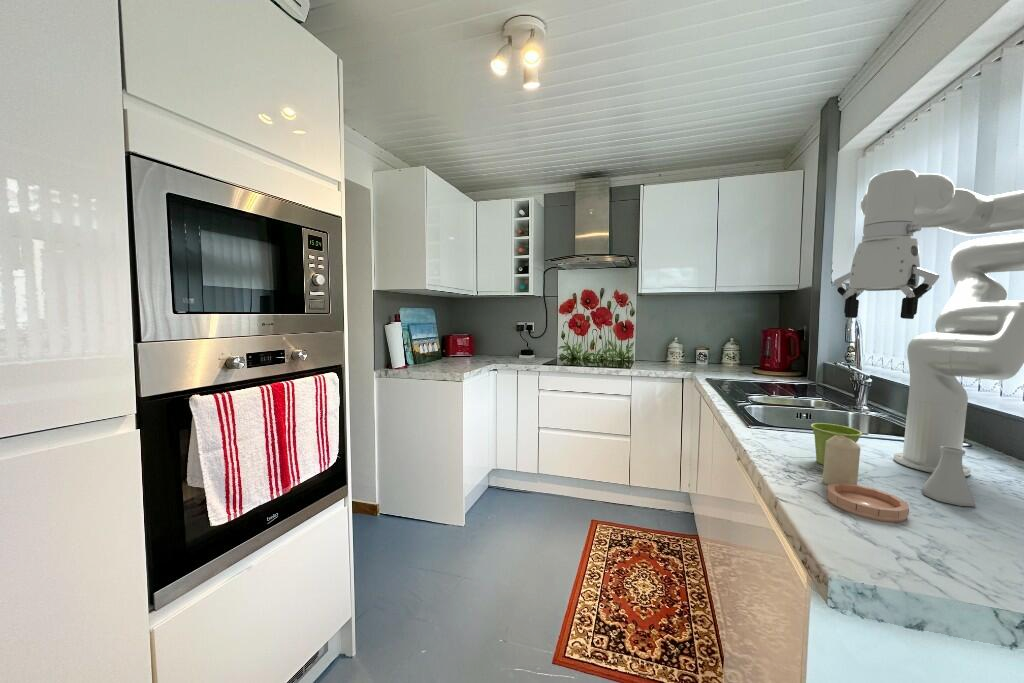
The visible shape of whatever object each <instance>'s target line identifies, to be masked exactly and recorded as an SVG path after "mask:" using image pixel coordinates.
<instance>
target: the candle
mask: <svg viewBox="0 0 1024 683" xmlns="http://www.w3.org/2000/svg"><path fill="white" fill-rule="evenodd" d="M860 455H861V446H860V445H859V444H858V442H856V443H855V442H854V441H852V440H851V439H849V438H847V437H845V436H842V435H840V436H837V435H836V436H834V437H832V438H830V439H828V440H827V441H826V446H825V457H824V465H823V468H822V469H823V472H822V482H823V483H824V484H825V485H827V486H828V485H829V484H835V483H845V484H856V485H858V480H859V469H860Z"/></svg>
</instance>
